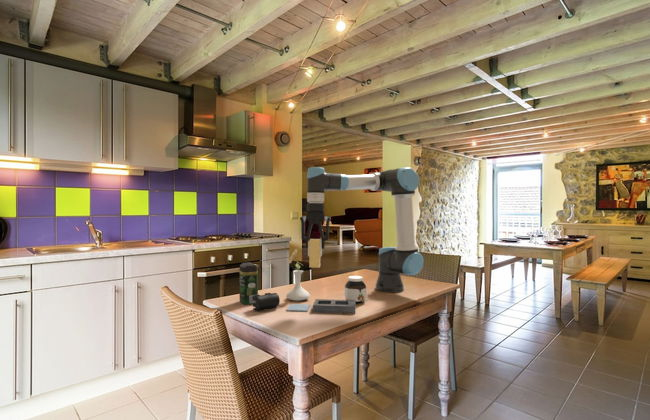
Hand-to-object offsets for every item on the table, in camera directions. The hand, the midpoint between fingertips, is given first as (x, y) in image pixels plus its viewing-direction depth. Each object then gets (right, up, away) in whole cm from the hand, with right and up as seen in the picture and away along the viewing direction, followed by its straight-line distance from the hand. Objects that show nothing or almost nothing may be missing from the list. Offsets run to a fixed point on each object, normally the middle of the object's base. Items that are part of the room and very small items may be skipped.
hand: (314, 255), depth 152 cm
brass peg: (0, -5, 0) cm, 5 cm away
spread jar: (+19, -24, +15) cm, 34 cm away
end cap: (-21, -24, 0) cm, 32 cm away
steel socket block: (+9, -23, 0) cm, 25 cm away
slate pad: (-7, -23, +1) cm, 24 cm away
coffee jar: (-31, -23, +11) cm, 41 cm away
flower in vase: (-9, -23, +15) cm, 29 cm away
